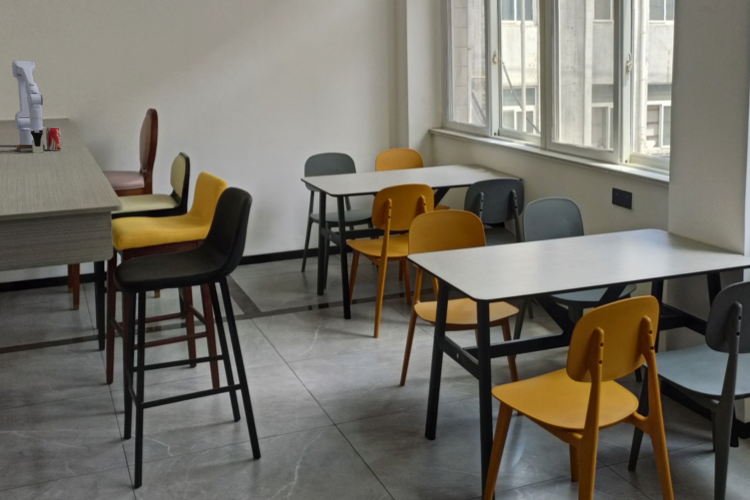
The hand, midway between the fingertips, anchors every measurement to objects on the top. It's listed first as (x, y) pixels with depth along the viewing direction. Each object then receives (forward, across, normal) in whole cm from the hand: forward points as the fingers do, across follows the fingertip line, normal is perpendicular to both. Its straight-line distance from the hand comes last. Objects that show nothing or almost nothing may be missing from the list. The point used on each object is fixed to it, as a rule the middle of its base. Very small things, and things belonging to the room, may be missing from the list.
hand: (37, 145), depth 384 cm
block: (+3, 0, 0) cm, 3 cm away
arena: (+3, +7, +4) cm, 9 cm away
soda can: (+3, +7, -8) cm, 11 cm away
